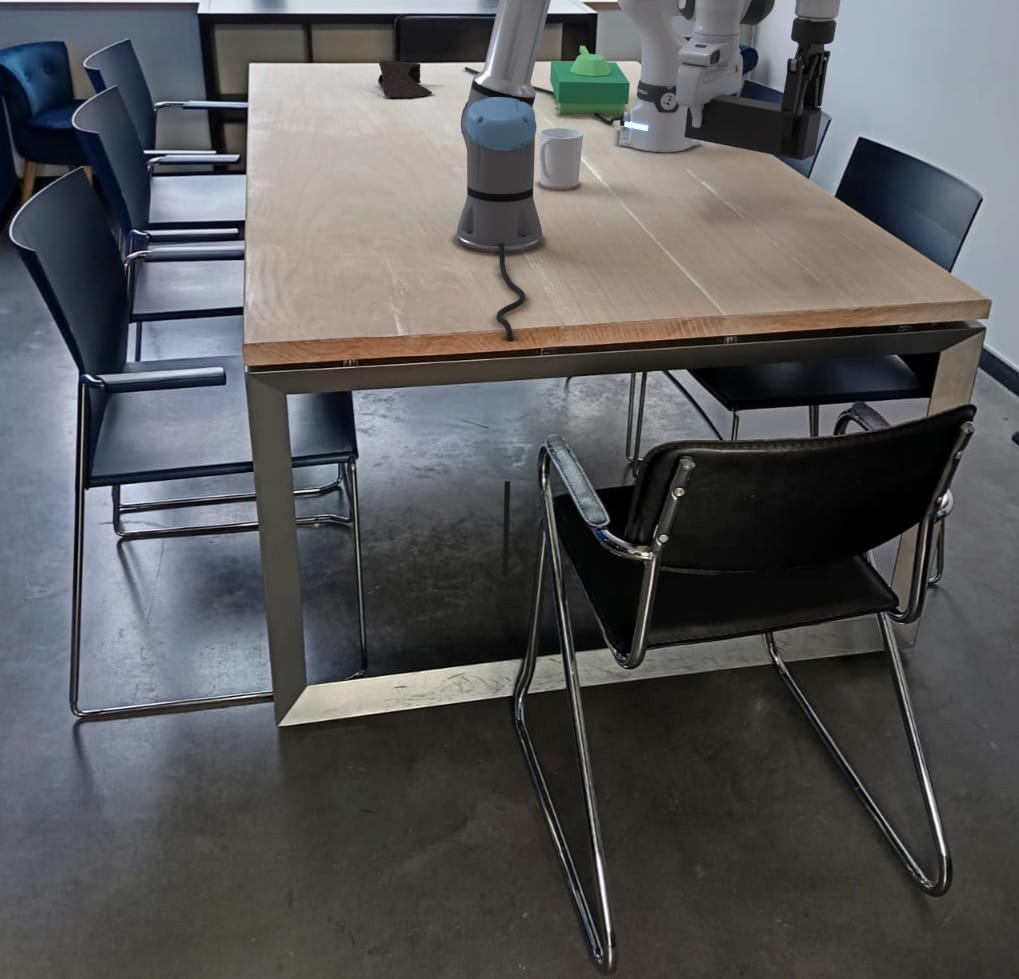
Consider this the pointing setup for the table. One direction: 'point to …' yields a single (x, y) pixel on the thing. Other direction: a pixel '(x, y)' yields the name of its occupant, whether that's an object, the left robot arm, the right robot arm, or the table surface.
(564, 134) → the mug
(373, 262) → the table surface
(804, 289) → the table surface
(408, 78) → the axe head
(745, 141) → the bar
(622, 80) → the toy tank
